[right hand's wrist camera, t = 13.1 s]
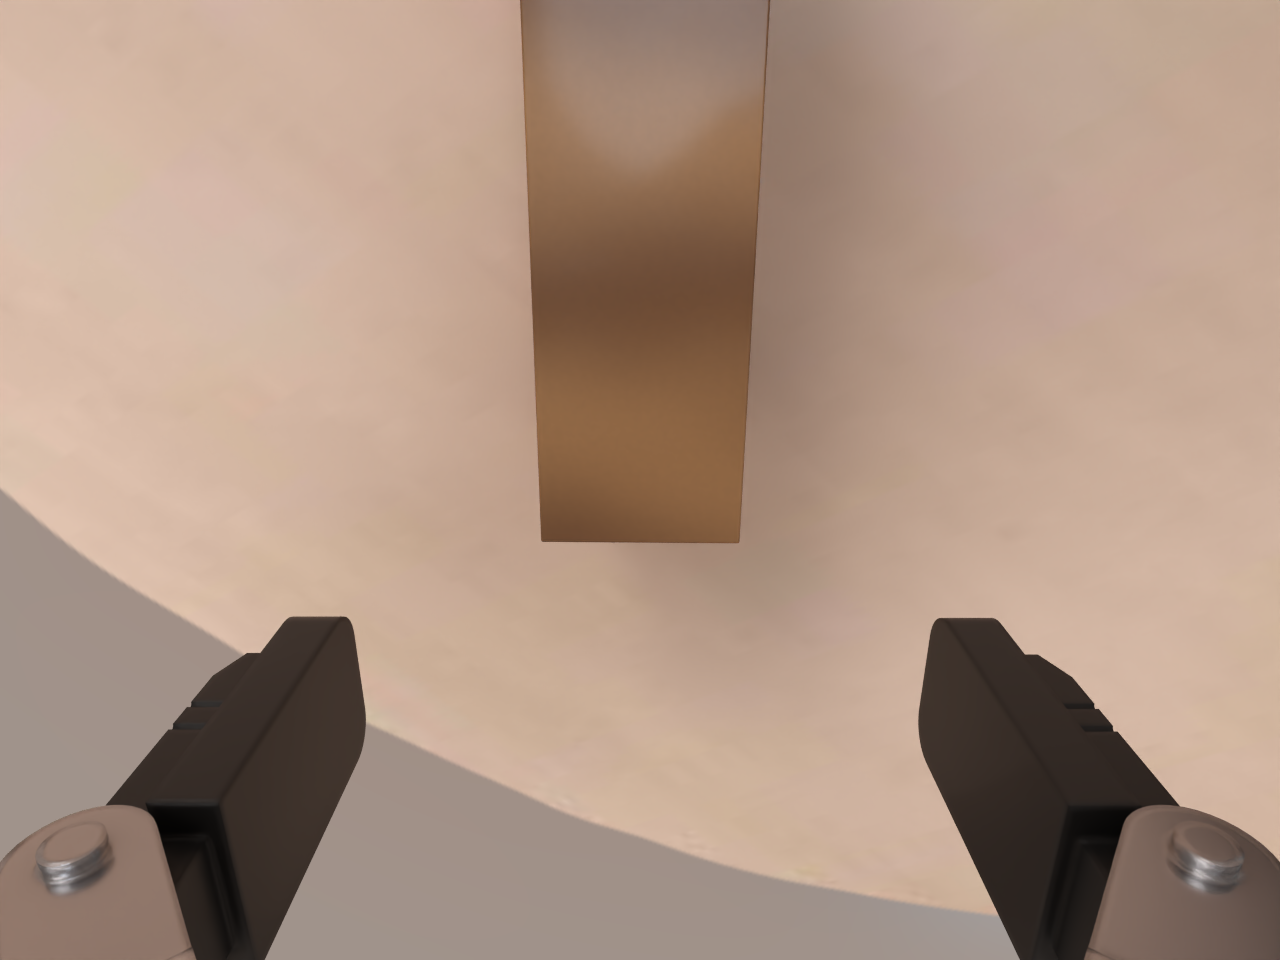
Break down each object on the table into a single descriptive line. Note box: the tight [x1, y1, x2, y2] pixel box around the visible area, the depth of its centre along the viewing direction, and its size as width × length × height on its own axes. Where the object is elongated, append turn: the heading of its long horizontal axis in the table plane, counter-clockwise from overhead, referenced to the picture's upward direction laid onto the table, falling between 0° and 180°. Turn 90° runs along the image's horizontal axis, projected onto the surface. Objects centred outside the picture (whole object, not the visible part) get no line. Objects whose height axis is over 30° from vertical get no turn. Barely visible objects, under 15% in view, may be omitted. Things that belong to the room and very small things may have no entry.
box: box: [520, 0, 770, 543], centre depth 26 cm, size 27×6×11 cm, turn 0°
